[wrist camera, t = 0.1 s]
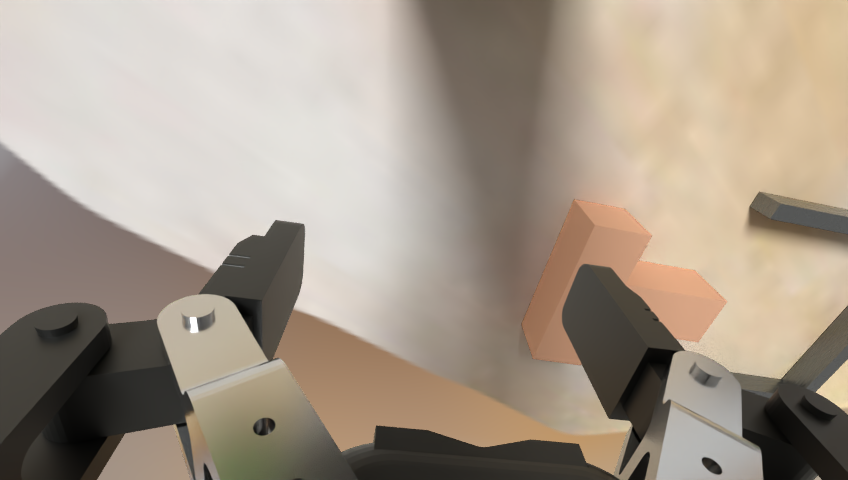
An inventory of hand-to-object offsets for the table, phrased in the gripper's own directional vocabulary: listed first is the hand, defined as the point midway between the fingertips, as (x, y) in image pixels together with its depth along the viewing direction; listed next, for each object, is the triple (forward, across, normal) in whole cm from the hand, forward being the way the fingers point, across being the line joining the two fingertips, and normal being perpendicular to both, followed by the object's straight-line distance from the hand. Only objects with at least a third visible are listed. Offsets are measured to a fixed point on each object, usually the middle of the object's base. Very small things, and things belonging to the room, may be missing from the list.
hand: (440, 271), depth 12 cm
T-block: (+18, -17, +9) cm, 27 cm away
